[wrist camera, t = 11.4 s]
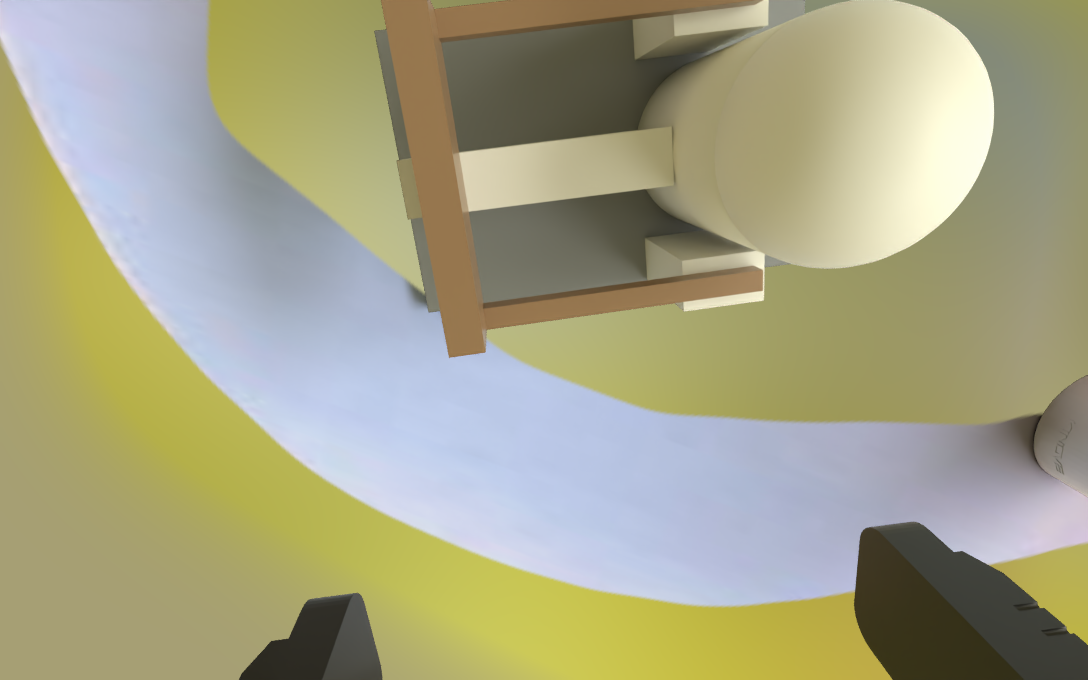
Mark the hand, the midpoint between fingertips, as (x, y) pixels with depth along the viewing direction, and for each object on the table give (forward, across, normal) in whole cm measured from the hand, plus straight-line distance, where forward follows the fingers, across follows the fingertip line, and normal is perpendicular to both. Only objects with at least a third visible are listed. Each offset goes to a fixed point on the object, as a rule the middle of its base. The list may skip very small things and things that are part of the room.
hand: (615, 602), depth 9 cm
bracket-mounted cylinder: (+27, -5, -6) cm, 28 cm away
